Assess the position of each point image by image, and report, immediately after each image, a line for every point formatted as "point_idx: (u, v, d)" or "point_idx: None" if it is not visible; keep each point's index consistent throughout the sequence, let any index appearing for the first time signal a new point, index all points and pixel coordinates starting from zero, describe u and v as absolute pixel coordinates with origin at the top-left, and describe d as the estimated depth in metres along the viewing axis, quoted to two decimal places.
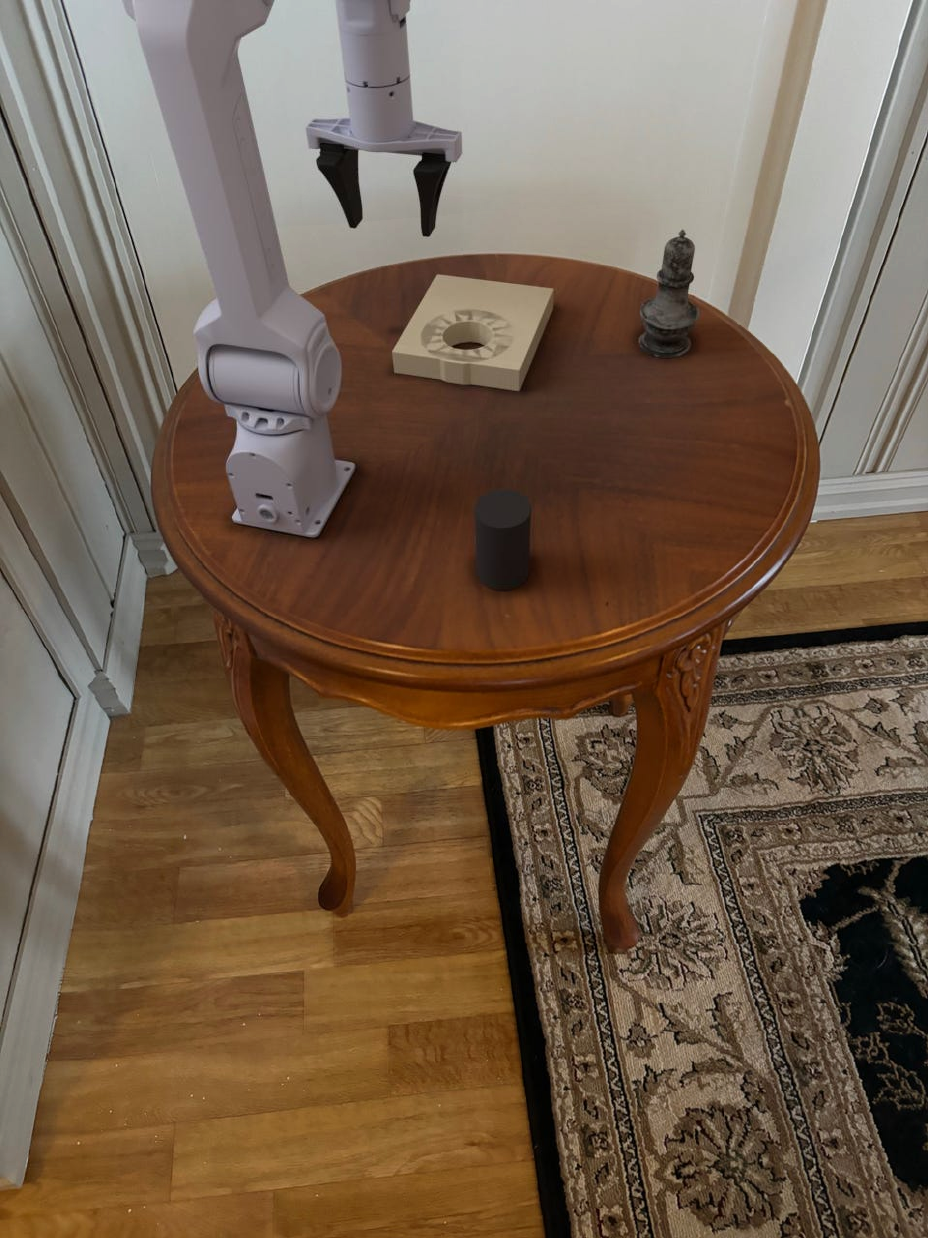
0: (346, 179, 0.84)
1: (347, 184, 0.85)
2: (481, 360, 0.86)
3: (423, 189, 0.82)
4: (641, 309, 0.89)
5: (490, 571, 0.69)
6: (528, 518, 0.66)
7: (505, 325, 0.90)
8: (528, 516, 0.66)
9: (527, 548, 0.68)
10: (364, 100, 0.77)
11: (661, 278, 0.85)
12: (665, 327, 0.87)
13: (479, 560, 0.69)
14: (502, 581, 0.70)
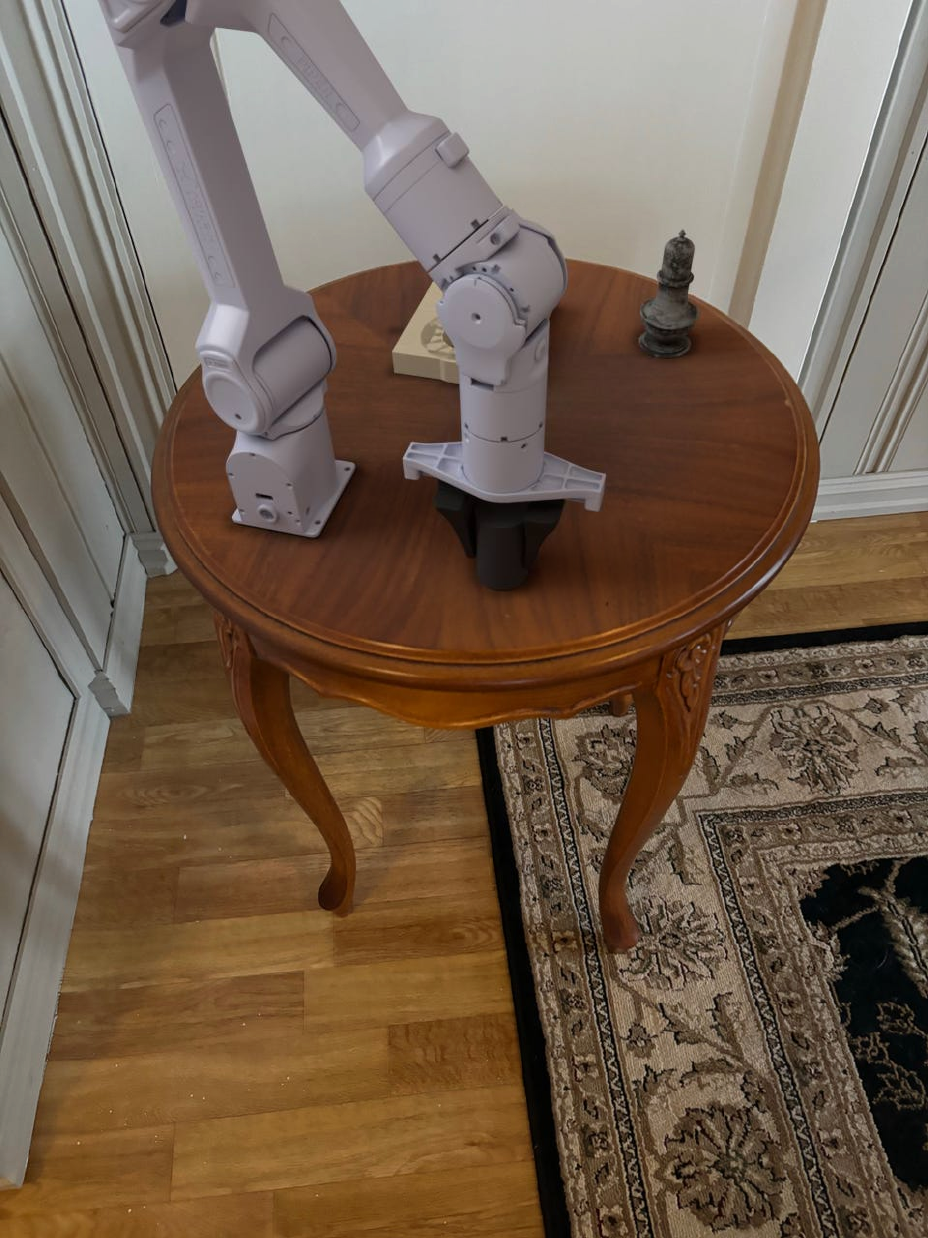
0: (469, 516, 0.66)
1: (469, 520, 0.67)
2: None
3: (533, 534, 0.65)
4: (641, 309, 0.89)
5: (489, 571, 0.69)
6: None
7: None
8: None
9: None
10: (488, 453, 0.59)
11: (661, 278, 0.85)
12: (665, 327, 0.87)
13: (479, 560, 0.69)
14: (502, 581, 0.70)
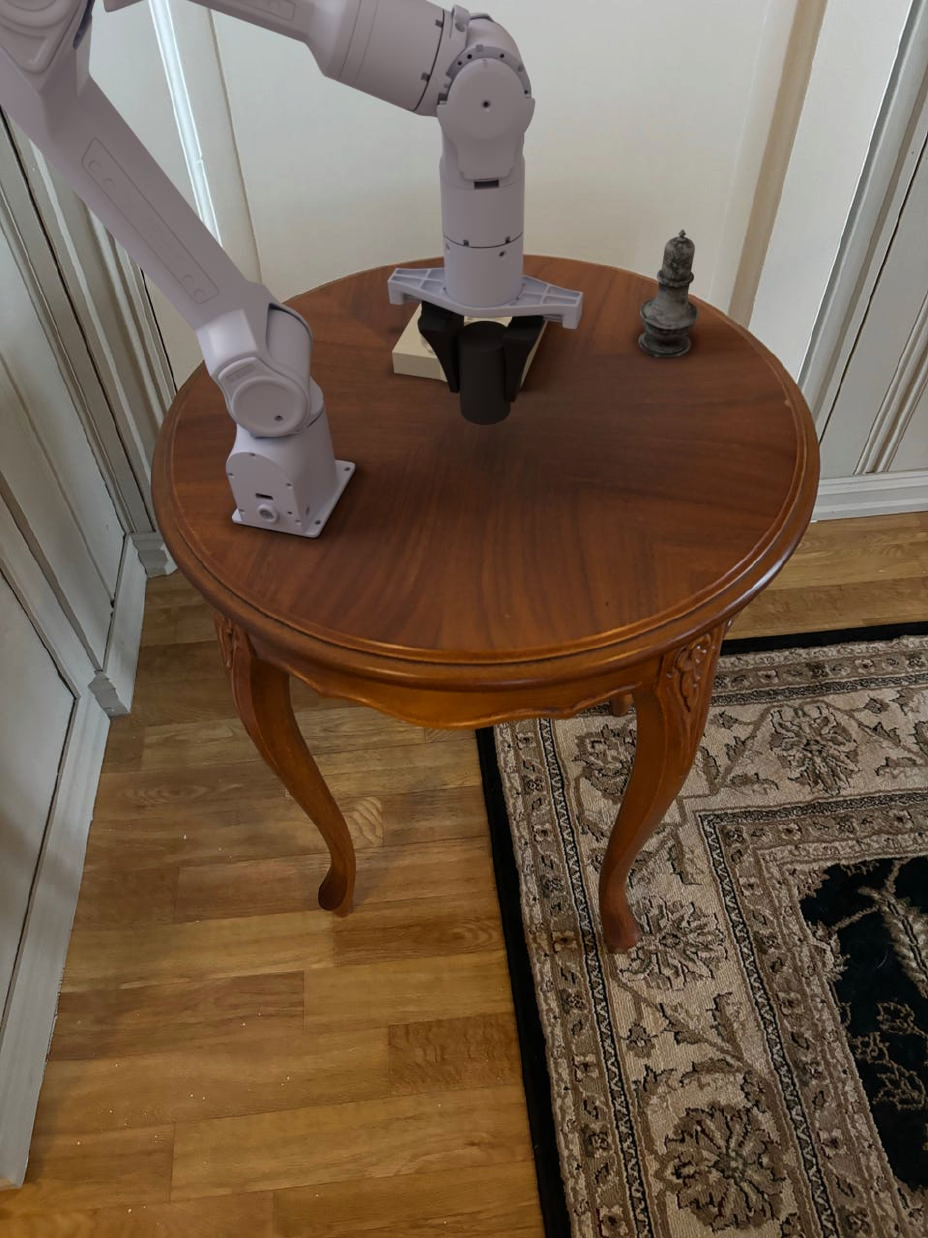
0: (452, 342, 0.69)
1: (452, 347, 0.69)
2: None
3: (512, 355, 0.67)
4: (641, 309, 0.89)
5: (472, 402, 0.71)
6: None
7: (505, 325, 0.90)
8: None
9: None
10: (468, 261, 0.61)
11: (661, 278, 0.85)
12: (665, 327, 0.87)
13: (462, 393, 0.72)
14: (484, 413, 0.72)
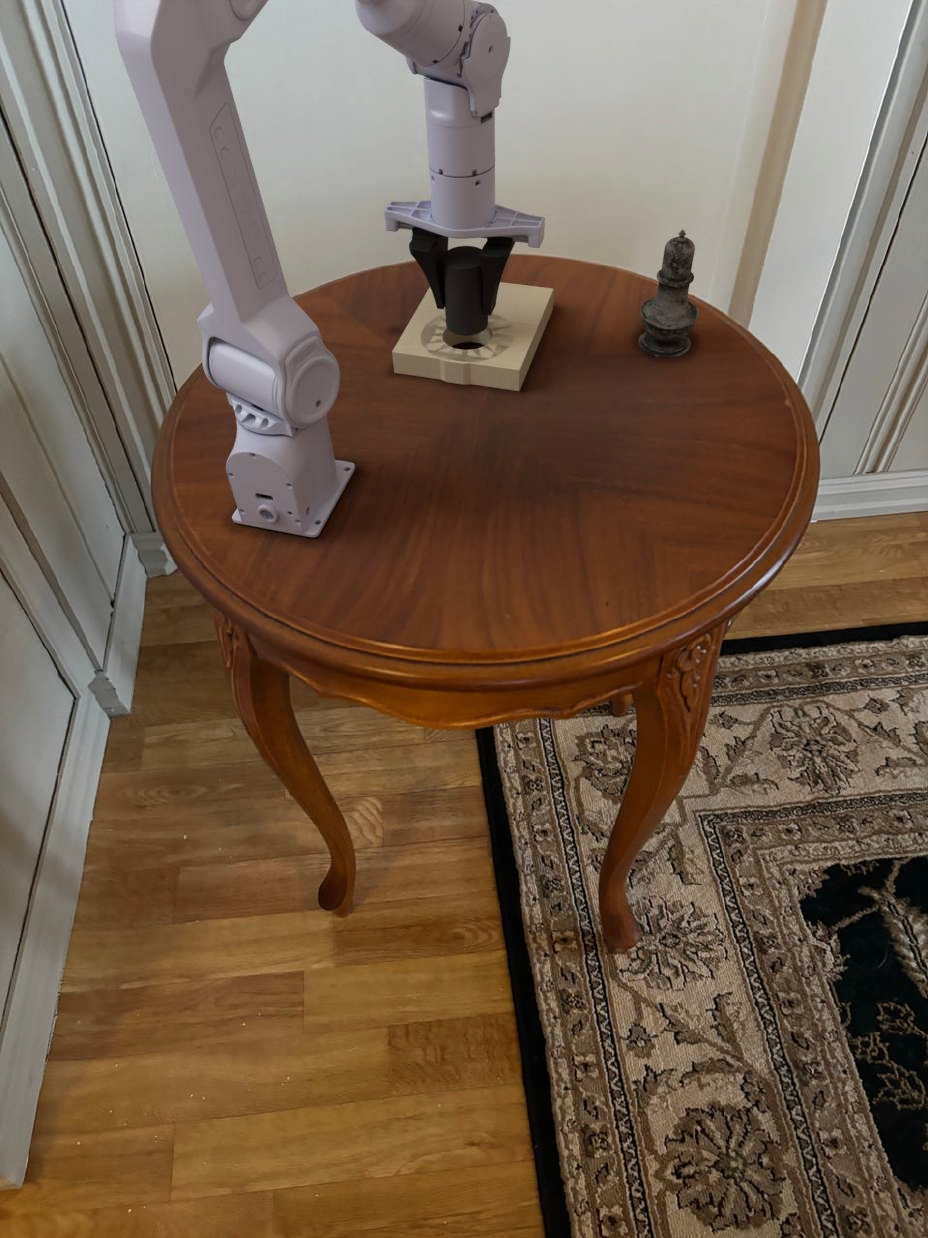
0: (438, 263, 0.83)
1: (438, 267, 0.83)
2: (481, 360, 0.86)
3: (488, 272, 0.81)
4: (641, 309, 0.89)
5: (455, 315, 0.85)
6: None
7: (505, 325, 0.90)
8: None
9: None
10: (449, 189, 0.75)
11: (661, 278, 0.85)
12: (665, 327, 0.87)
13: (447, 308, 0.86)
14: (465, 325, 0.86)
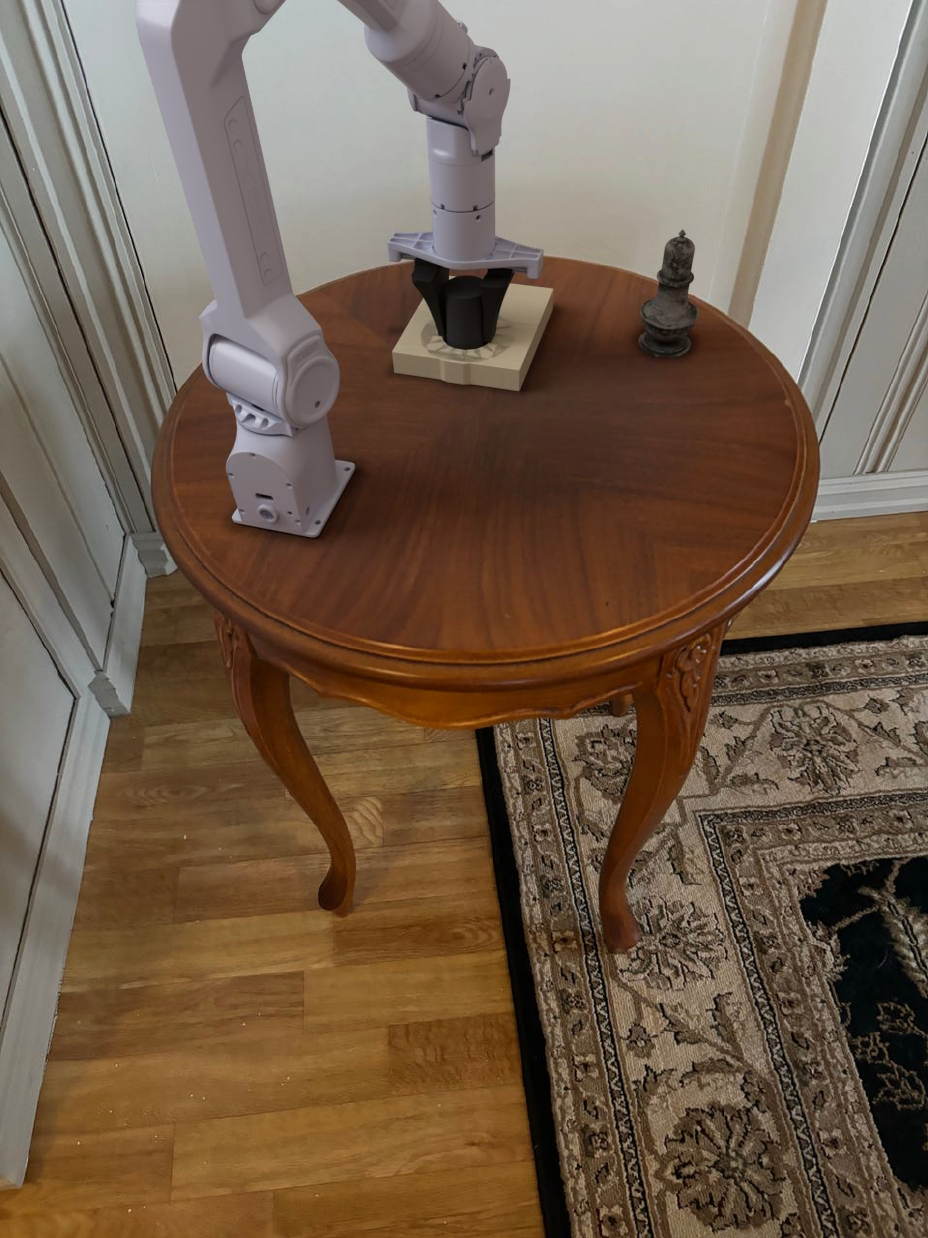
0: (439, 292, 0.85)
1: (440, 296, 0.85)
2: (481, 360, 0.86)
3: (488, 301, 0.83)
4: (641, 309, 0.89)
5: (456, 342, 0.88)
6: None
7: (505, 325, 0.90)
8: None
9: None
10: (451, 223, 0.78)
11: (661, 278, 0.85)
12: (665, 327, 0.87)
13: (448, 335, 0.88)
14: None
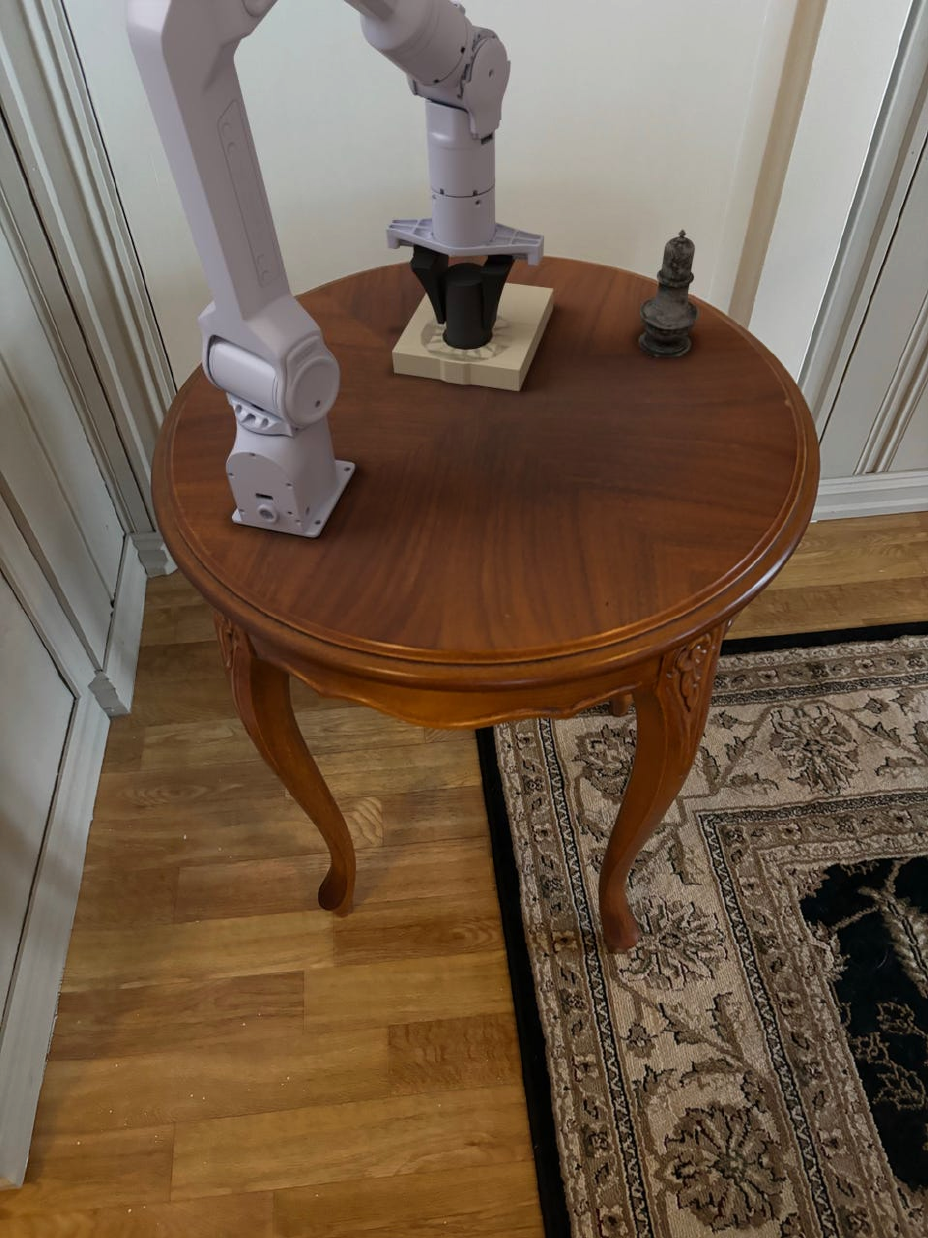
0: (438, 279, 0.84)
1: (439, 284, 0.84)
2: (481, 360, 0.86)
3: (488, 289, 0.82)
4: (641, 309, 0.89)
5: (456, 331, 0.87)
6: None
7: (505, 325, 0.90)
8: None
9: None
10: (450, 209, 0.77)
11: (661, 278, 0.85)
12: (665, 327, 0.87)
13: (447, 323, 0.87)
14: (466, 340, 0.87)
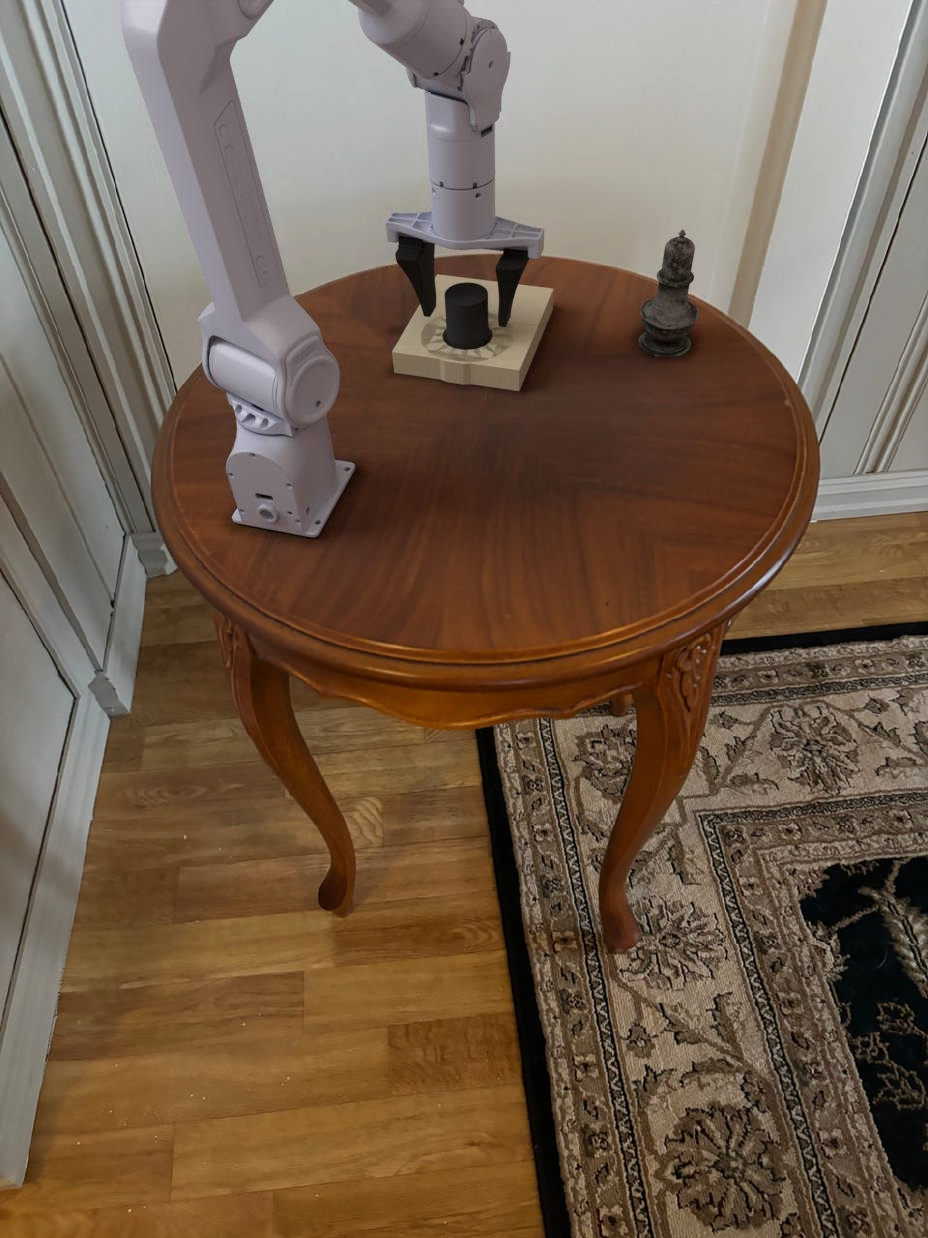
0: (424, 271, 0.84)
1: (424, 276, 0.84)
2: (481, 360, 0.86)
3: (504, 284, 0.81)
4: (641, 309, 0.89)
5: None
6: (485, 300, 0.85)
7: None
8: (485, 298, 0.85)
9: (486, 329, 0.88)
10: (450, 201, 0.76)
11: (661, 278, 0.85)
12: (665, 327, 0.87)
13: (449, 341, 0.89)
14: None
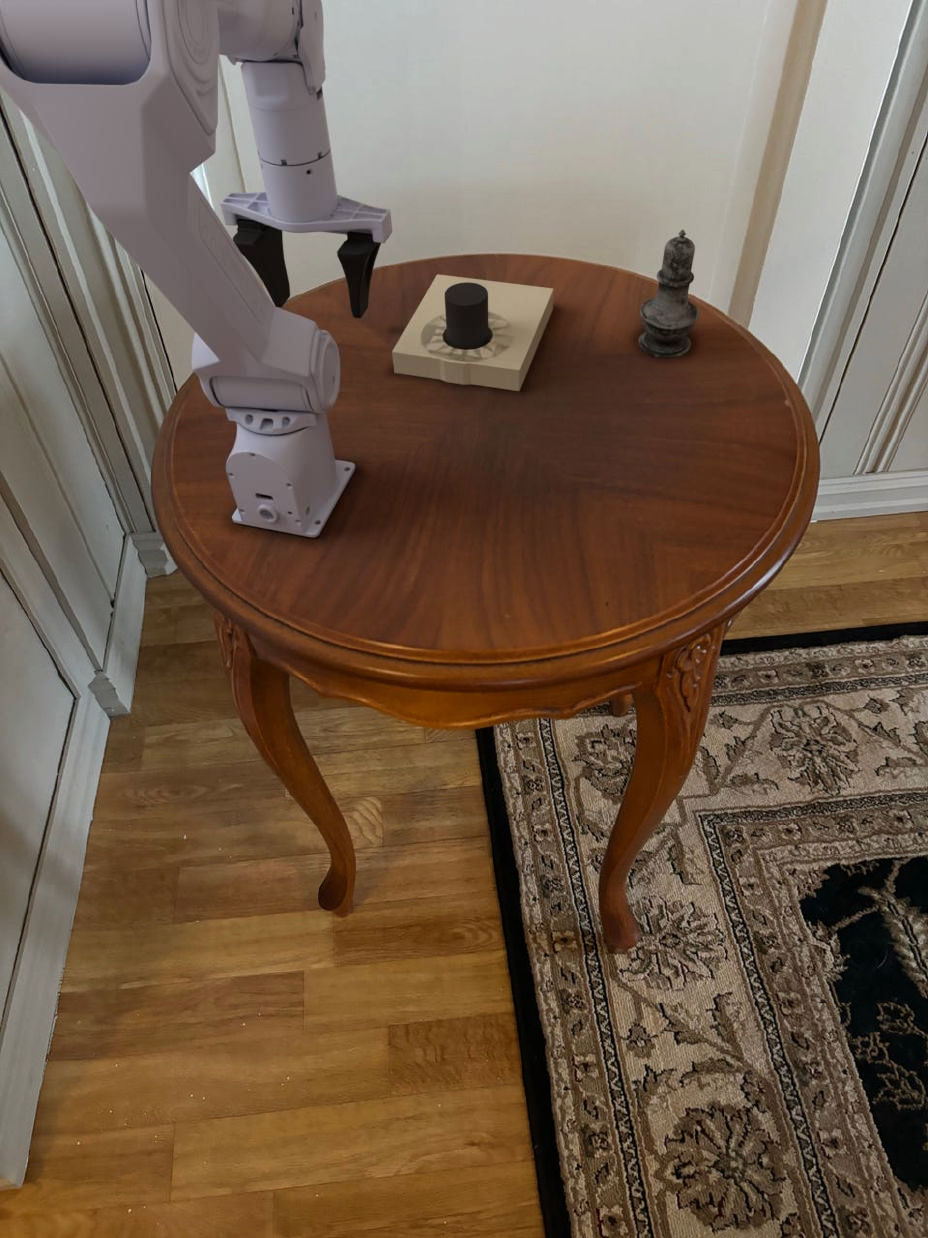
0: (267, 257, 0.77)
1: (269, 262, 0.77)
2: (481, 360, 0.86)
3: (350, 271, 0.74)
4: (641, 309, 0.89)
5: None
6: (485, 300, 0.85)
7: (505, 325, 0.90)
8: (485, 298, 0.85)
9: (486, 329, 0.88)
10: (279, 179, 0.69)
11: (661, 278, 0.85)
12: (665, 327, 0.87)
13: (449, 341, 0.89)
14: None
